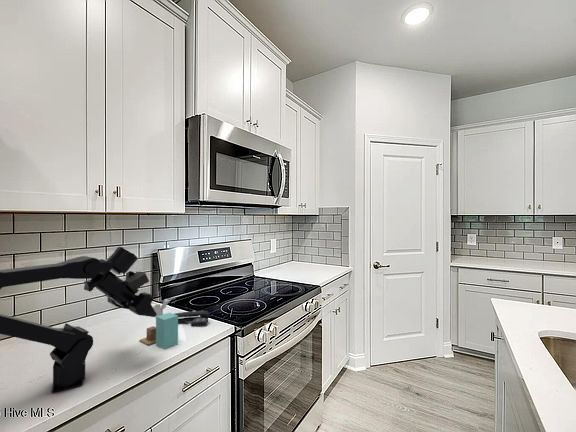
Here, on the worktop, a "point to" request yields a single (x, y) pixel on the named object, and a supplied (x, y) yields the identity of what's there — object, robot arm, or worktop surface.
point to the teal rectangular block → (166, 330)
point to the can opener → (194, 320)
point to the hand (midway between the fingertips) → (147, 312)
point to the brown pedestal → (149, 336)
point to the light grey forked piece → (160, 308)
